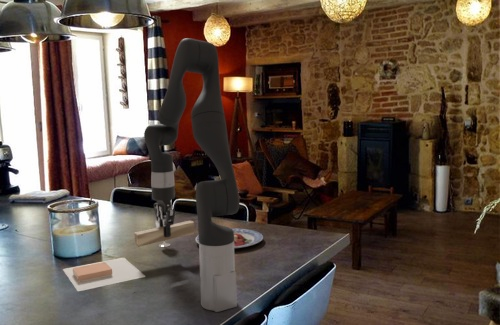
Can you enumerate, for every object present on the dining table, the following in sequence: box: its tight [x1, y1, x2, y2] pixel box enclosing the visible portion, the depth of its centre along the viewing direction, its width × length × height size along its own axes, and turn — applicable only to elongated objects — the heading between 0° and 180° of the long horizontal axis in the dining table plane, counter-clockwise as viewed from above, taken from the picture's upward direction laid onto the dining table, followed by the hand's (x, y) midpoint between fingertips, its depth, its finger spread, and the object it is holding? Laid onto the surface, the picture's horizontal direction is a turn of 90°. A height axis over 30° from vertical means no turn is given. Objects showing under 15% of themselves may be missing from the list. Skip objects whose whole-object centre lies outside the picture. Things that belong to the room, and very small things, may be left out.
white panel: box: [62, 256, 146, 292], centre depth 149 cm, size 22×20×1 cm
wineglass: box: [155, 219, 171, 248], centre depth 179 cm, size 6×6×12 cm
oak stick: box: [133, 220, 196, 248], centre depth 159 cm, size 3×20×4 cm, turn 122°
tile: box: [73, 262, 112, 282], centre depth 147 cm, size 8×2×10 cm
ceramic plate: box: [195, 227, 264, 250], centre depth 182 cm, size 26×26×3 cm
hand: (165, 235), depth 159 cm, fingers closed on oak stick, 3 cm apart
